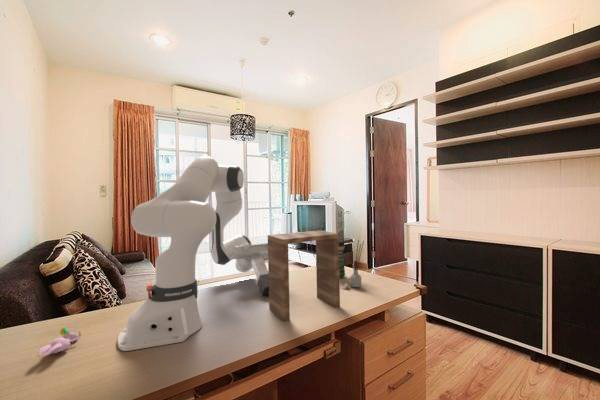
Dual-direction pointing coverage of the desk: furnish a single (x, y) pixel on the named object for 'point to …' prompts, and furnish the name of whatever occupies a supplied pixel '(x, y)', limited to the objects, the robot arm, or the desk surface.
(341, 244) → the coffee jar
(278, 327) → the desk surface
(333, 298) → the shelf
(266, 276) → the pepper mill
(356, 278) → the reed diffuser
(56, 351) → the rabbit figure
